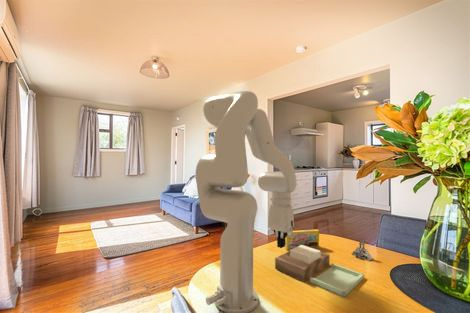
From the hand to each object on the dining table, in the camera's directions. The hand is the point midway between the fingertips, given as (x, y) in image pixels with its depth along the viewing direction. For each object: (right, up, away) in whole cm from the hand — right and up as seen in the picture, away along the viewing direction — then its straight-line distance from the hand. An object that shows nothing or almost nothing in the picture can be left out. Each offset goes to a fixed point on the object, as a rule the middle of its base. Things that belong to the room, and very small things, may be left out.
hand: (281, 246), depth 93 cm
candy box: (+12, -5, +11) cm, 17 cm away
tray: (+15, -5, -17) cm, 23 cm away
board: (+7, -5, -8) cm, 11 cm away
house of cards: (+31, -6, 0) cm, 32 cm away
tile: (+7, -1, -8) cm, 11 cm away
